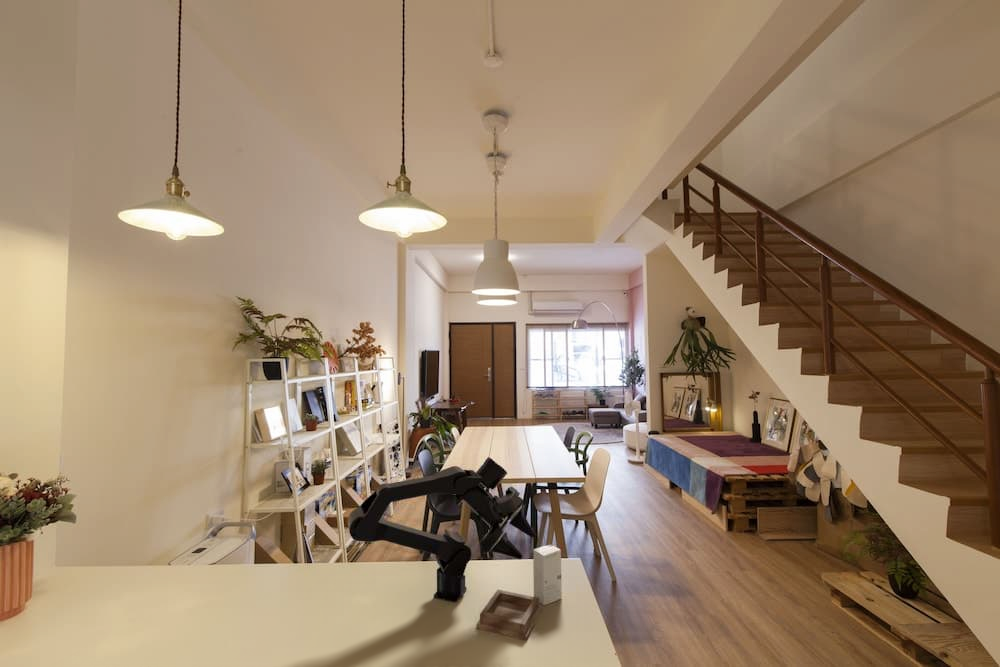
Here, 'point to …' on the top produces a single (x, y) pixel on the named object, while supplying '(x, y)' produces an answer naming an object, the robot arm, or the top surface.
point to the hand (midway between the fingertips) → (528, 546)
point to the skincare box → (547, 574)
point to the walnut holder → (510, 614)
